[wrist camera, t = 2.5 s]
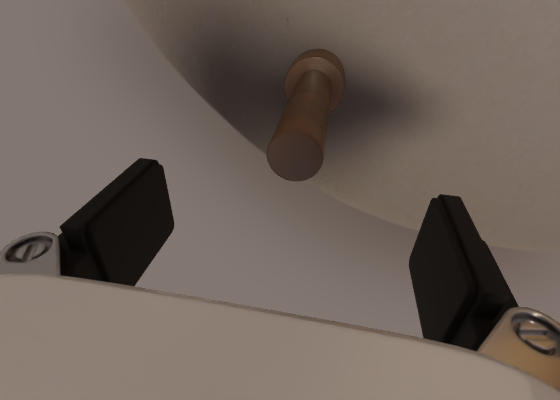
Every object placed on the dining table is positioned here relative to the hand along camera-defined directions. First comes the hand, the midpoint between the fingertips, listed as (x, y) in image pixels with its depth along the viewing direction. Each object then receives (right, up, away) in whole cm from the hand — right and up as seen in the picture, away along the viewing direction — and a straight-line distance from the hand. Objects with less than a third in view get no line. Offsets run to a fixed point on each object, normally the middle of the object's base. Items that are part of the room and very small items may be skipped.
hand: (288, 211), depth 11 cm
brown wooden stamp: (+3, +10, +15) cm, 18 cm away
